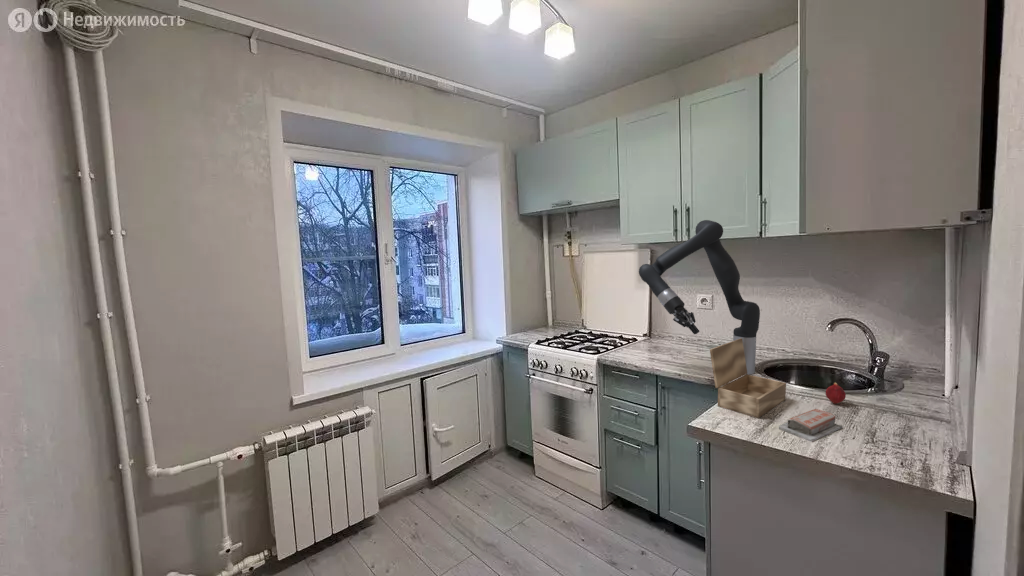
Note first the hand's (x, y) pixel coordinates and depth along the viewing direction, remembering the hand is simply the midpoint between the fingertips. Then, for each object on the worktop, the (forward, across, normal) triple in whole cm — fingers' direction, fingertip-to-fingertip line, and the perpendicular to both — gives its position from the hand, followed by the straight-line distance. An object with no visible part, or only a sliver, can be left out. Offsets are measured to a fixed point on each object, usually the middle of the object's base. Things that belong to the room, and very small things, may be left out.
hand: (697, 333), depth 167 cm
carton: (+32, 0, +1) cm, 32 cm away
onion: (+46, +22, -12) cm, 53 cm away
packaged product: (+48, -8, -13) cm, 50 cm away
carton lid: (+16, 0, -3) cm, 17 cm away
